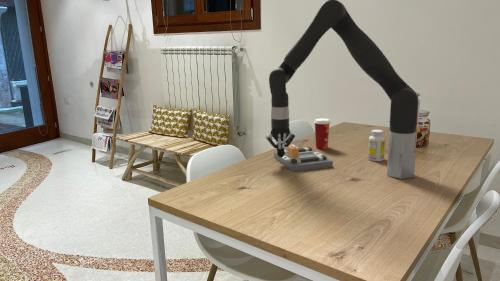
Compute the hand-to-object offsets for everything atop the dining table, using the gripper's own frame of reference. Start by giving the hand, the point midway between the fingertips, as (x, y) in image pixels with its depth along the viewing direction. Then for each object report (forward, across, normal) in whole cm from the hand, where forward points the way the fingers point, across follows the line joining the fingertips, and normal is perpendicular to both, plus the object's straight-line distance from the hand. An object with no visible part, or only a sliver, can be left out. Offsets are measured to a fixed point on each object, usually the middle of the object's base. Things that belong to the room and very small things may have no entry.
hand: (280, 156), depth 165 cm
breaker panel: (+3, +10, 0) cm, 10 cm away
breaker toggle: (+1, +6, 0) cm, 6 cm away
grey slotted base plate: (+3, +10, 0) cm, 10 cm away
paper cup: (+4, +28, +17) cm, 33 cm away
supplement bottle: (+4, +41, -9) cm, 42 cm away
